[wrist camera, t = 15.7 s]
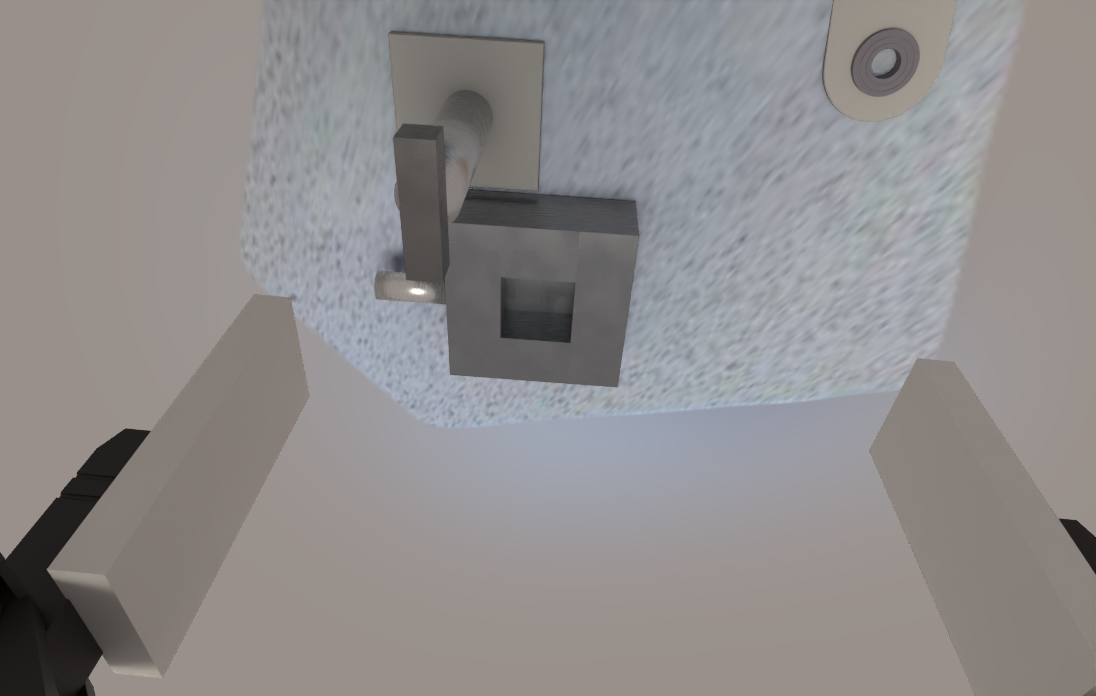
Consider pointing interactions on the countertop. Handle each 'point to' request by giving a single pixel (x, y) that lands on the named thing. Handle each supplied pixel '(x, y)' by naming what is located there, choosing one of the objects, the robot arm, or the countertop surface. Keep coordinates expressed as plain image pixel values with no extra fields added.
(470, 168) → the chuck key
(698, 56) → the countertop surface
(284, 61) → the countertop surface
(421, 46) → the mat
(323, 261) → the countertop surface
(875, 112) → the bracket
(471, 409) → the countertop surface
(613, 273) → the block
